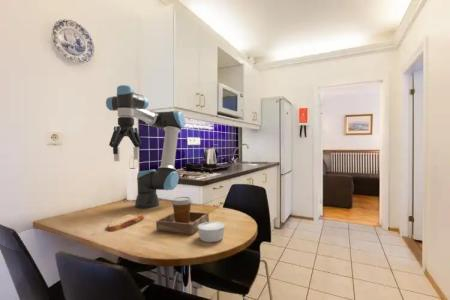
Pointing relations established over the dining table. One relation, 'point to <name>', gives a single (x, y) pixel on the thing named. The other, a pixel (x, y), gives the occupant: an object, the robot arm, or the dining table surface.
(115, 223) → the bread slice
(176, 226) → the open wooden box
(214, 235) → the ramekin
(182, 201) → the disposable coffee cup
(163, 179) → the robot arm
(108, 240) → the dining table surface
